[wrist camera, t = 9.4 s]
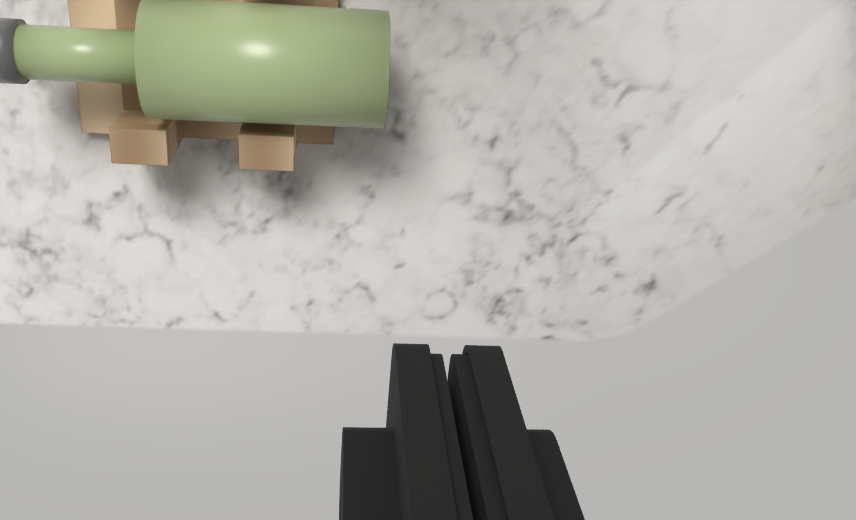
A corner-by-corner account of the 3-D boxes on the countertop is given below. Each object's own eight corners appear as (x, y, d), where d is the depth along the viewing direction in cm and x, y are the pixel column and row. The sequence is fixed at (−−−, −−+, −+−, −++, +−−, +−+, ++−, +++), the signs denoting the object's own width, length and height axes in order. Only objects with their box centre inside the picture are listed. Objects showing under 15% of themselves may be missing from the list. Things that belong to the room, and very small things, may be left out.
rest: (340, -72, 36) (341, -62, 32) (333, 139, 41) (333, 172, 37) (62, -96, 35) (25, -88, 31) (86, 127, 39) (56, 160, 35)
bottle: (392, 31, 32) (-41, 6, 30) (384, 147, 34) (-13, 131, 32) (385, -3, 36) (6, -27, 34) (379, 103, 38) (27, 86, 36)
